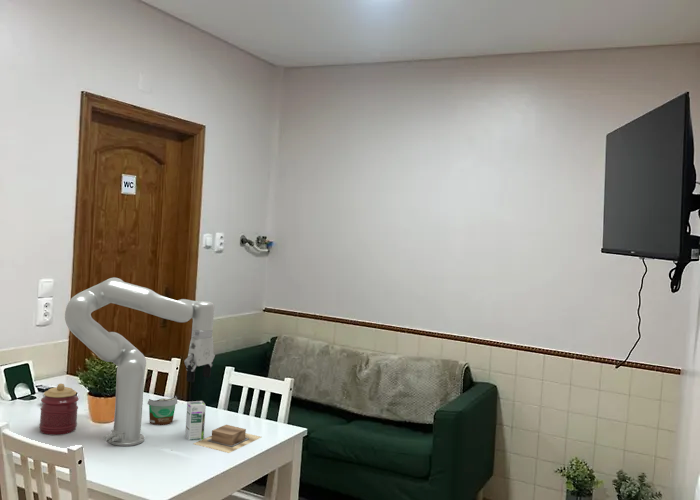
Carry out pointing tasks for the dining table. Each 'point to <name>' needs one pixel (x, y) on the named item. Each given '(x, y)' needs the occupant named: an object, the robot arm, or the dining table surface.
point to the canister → (59, 411)
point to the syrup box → (195, 420)
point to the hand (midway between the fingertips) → (198, 379)
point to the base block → (228, 435)
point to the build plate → (224, 447)
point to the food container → (162, 411)
